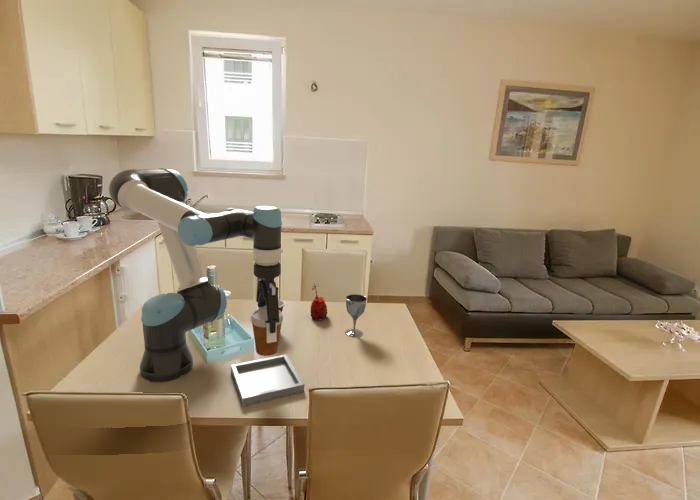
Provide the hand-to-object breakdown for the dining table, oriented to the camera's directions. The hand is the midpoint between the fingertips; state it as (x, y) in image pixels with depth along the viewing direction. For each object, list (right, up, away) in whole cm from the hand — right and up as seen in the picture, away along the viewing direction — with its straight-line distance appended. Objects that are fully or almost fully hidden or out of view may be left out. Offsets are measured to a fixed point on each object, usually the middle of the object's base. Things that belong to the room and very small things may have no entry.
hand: (267, 334), depth 114 cm
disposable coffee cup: (0, -5, +1) cm, 6 cm away
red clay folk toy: (+11, -4, +50) cm, 52 cm away
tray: (-1, -15, +4) cm, 16 cm away
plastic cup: (-6, -7, +36) cm, 37 cm away
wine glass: (+26, -8, +38) cm, 47 cm away
